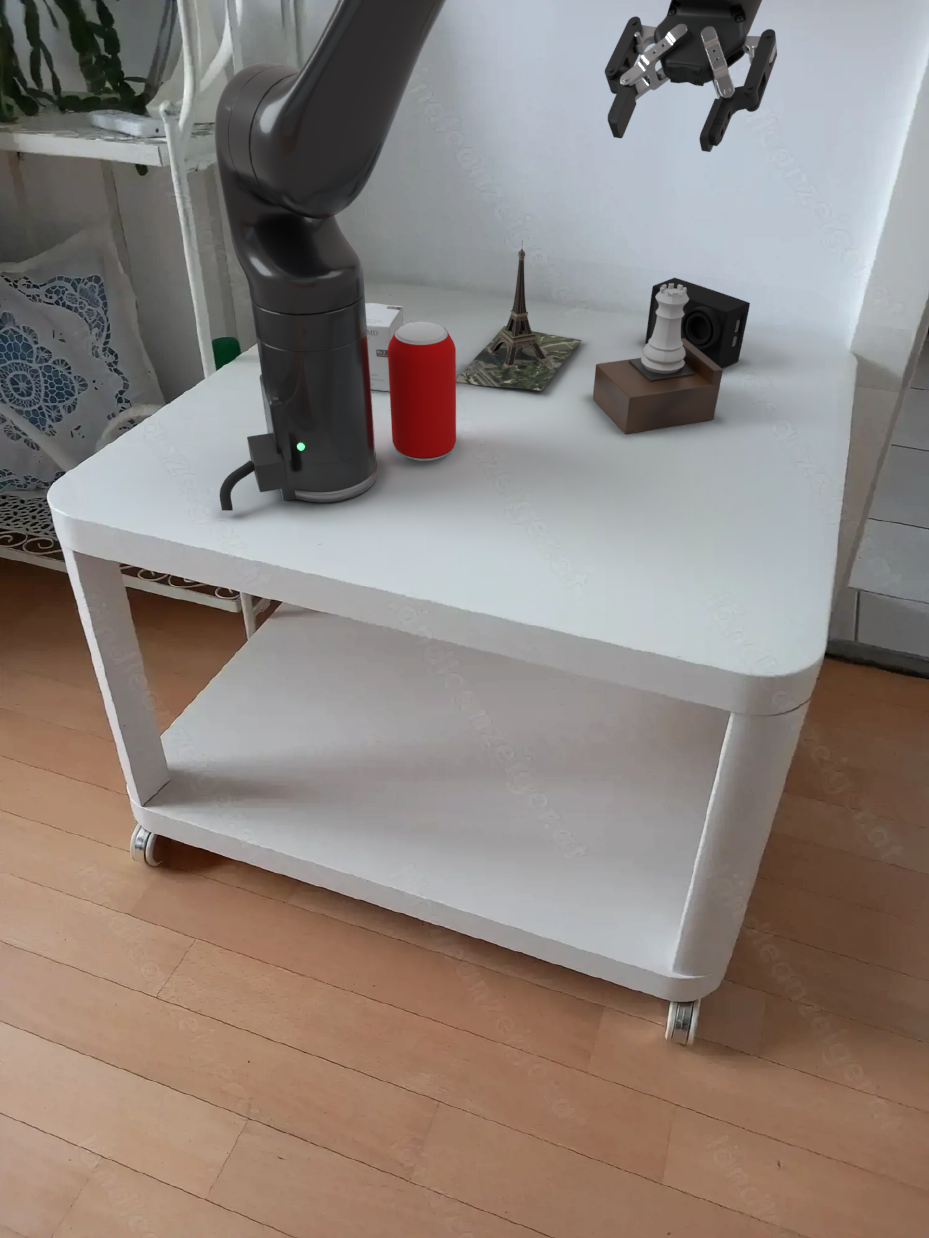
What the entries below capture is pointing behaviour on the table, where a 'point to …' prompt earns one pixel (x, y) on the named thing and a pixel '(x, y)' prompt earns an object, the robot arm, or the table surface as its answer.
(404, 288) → the table surface
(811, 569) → the table surface
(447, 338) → the beverage can
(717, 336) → the digital camera
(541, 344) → the eiffel tower figurine
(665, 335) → the rook chess piece
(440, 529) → the table surface
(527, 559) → the table surface
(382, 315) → the product carton
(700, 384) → the wooden stepped block
